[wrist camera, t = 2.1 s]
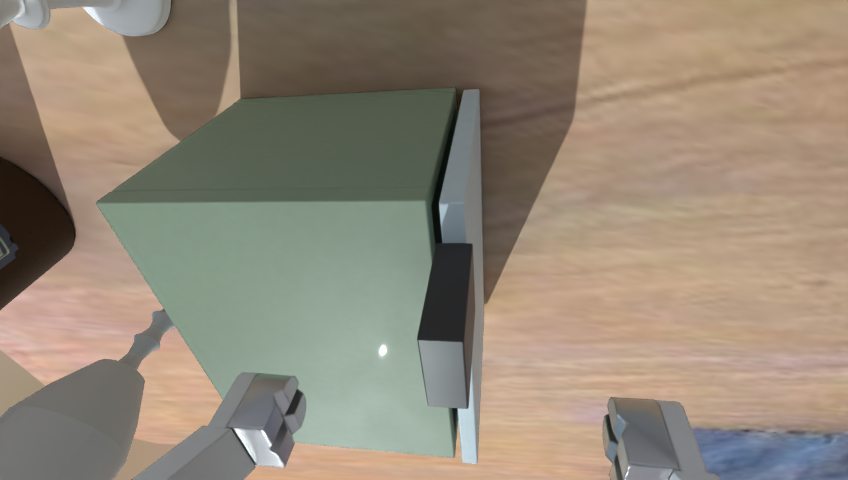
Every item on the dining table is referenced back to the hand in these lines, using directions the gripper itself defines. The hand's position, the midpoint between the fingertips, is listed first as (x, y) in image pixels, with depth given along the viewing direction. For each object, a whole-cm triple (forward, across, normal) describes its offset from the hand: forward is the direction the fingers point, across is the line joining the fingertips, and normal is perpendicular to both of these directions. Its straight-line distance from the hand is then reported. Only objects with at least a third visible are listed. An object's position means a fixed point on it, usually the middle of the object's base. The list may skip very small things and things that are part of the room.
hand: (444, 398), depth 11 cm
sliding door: (+15, 0, +5) cm, 16 cm away
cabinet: (+15, +7, +5) cm, 18 cm away
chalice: (+16, +21, +10) cm, 28 cm away
